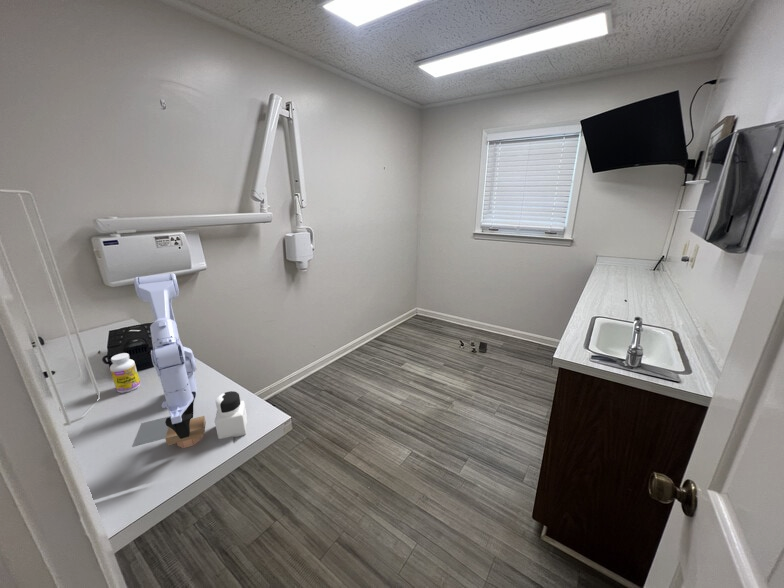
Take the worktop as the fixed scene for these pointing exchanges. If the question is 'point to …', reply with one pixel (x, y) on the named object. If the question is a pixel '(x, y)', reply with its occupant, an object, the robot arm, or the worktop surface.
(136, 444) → the mat
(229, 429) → the medicine bottle
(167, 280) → the robot arm
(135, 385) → the supplement bottle
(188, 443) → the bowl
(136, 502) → the worktop surface
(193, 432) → the tan cardboard box
